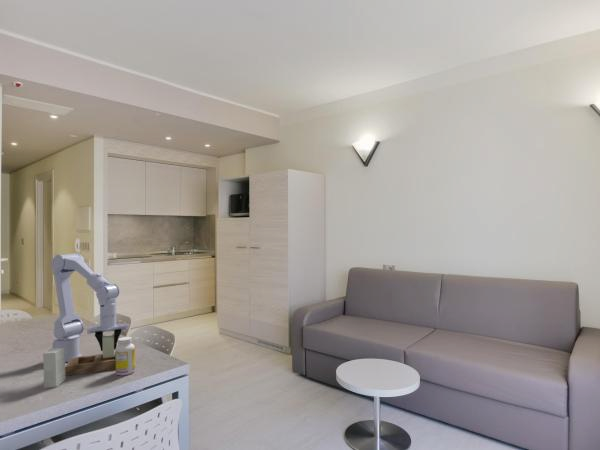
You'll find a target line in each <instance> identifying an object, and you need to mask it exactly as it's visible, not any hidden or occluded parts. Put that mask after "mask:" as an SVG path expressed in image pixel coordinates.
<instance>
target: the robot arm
mask: <svg viewBox="0 0 600 450" xmlns="http://www.w3.org/2000/svg"><path fill="white" fill-rule="evenodd" d="M51 268H52V275H53V279H54V285H55V290H56V297H57V305H58V310H59V317H58V318H56V320H54V324H53V325H54V327H53V329H54V330H53V335H54V338H56V339H54V340H53V341H52V347H51V349H52V348H64V350H65V363H68V362H69V360H70V358H73V357H81V356H82V355H83V354H82V353H80V337H81V336H82V334H83V332H84V329H85V326H84V322H83V321H82V317H81V315H78V314H77V313H76V312H75V306H74V299H73V291H72V285H71V279H70V276H71V275H72V274H73V273H75V272H77V273H78V274H80V276H82V277H84V278H85V279H86V284H87V285H88V286H89V287H90V288H91V289H92V290H93V291H94V292H95V296H96V298H97V300H98V304H99V317H100V319H99V325H100V326H93V327H88V328H87V330H86V331H87V335H90V334H94V337H95V339H96V340H97V342H98V345H99V348H100V351H101V352H103V340H102V338H103V335H104V333H107V332H113V334H114V349H116V347H117V346H118V345H117V343H118V339H119V338H120V336H121V333H122V331H123V330H124V331H125V330H126V331H128V330H129V328H130V327H129V323H119V324H118V323H117V298H118V297H119V294H120V289H119V286H118V285H117V284H116V283H112V282H109V281H108V280H107V279H105V278H104V277H103V275H102V273H98V272H94V271H93V270H92V269H91V268H90V267H89V266H88V265H87V263H86V262H85V258H84V256H82V254H80V253H79V252H75V253H67V254H56V255H54V257H53V259H51Z"/></svg>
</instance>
